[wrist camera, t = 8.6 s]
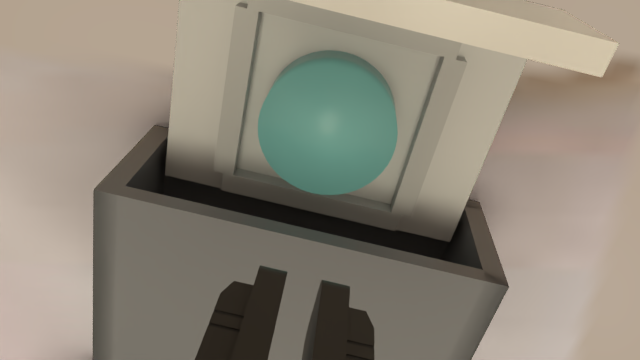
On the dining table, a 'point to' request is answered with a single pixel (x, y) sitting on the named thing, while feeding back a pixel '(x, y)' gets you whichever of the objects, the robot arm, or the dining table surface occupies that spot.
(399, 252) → the player housing
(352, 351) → the robot arm
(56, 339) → the dining table surface
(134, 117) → the dining table surface
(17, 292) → the dining table surface
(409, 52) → the tray
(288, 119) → the disc
